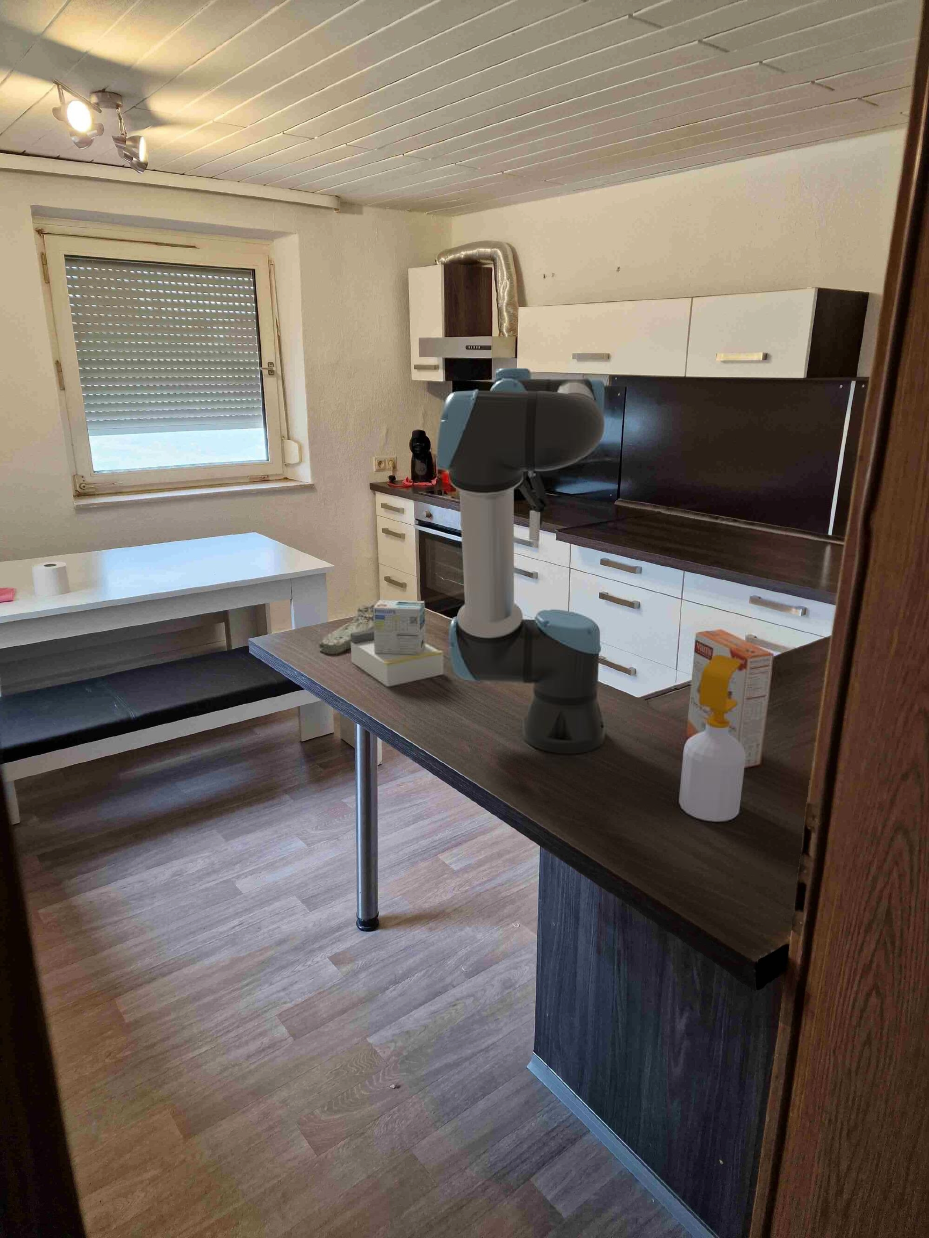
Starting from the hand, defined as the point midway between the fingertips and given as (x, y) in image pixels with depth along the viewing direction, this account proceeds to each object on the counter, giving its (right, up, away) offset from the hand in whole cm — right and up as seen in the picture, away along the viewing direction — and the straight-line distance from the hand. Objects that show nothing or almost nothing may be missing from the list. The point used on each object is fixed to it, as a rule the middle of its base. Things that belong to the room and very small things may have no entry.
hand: (509, 544), depth 176 cm
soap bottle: (+28, -46, -50) cm, 74 cm away
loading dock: (-25, -27, +8) cm, 38 cm away
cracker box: (+36, -40, -31) cm, 63 cm away
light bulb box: (-24, -23, +5) cm, 34 cm away
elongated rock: (-36, -20, +32) cm, 53 cm away
